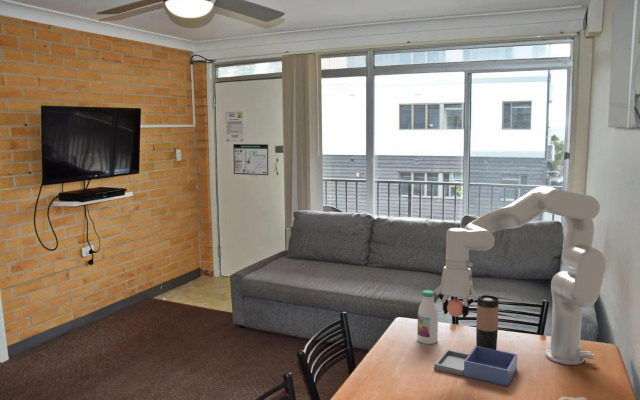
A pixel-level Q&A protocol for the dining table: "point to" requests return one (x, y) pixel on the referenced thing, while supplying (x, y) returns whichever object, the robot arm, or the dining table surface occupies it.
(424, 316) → the milk bottle
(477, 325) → the travel mug
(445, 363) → the tray
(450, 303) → the ball
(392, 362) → the dining table surface
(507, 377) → the blue storage bin
